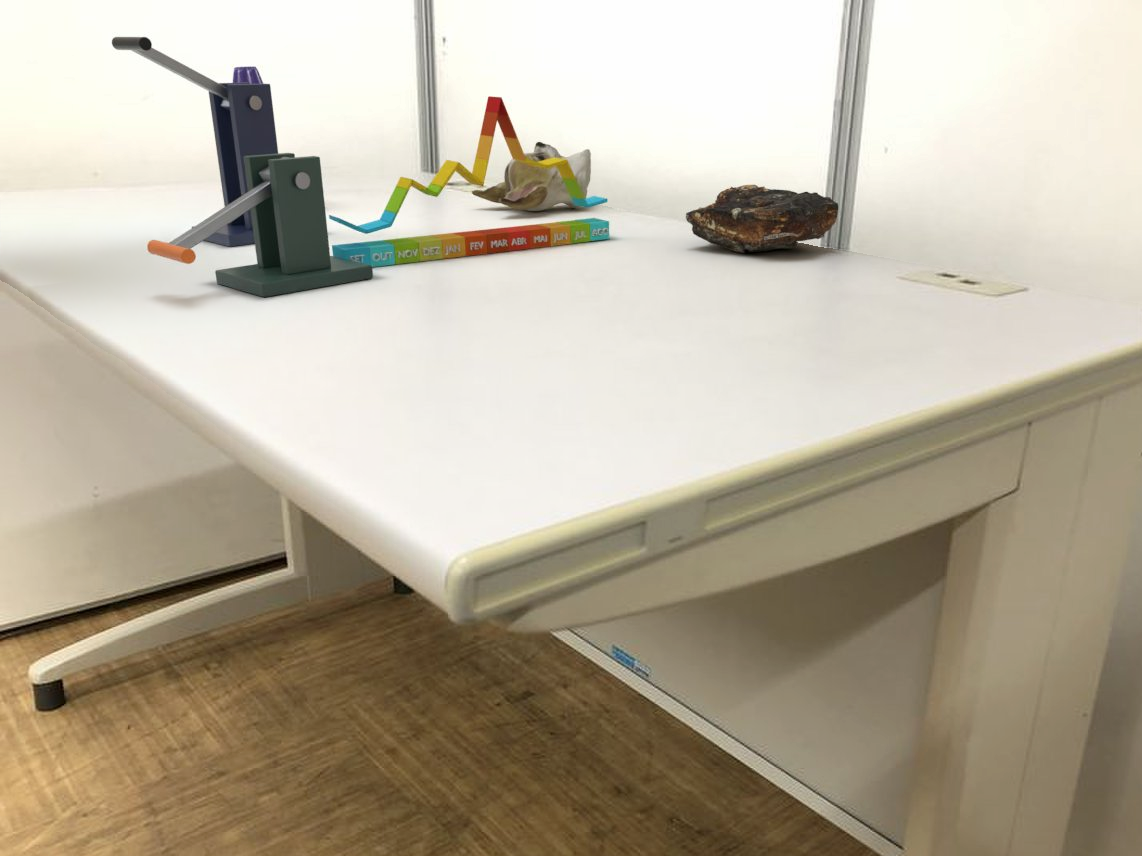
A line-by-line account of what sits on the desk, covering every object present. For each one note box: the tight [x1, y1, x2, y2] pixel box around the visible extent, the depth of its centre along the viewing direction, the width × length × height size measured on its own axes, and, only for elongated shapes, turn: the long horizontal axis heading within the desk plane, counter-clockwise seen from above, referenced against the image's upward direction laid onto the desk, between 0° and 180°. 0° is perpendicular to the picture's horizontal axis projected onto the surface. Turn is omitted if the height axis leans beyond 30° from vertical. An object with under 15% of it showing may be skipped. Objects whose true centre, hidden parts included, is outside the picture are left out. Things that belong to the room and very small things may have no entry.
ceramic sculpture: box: [471, 141, 592, 212], centre depth 135 cm, size 11×9×15 cm
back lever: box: [111, 36, 230, 111], centre depth 107 cm, size 14×6×2 cm, turn 138°
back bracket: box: [191, 82, 279, 248], centre depth 114 cm, size 11×8×16 cm
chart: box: [328, 96, 610, 268], centre depth 107 cm, size 30×3×15 cm, turn 126°
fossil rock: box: [685, 184, 839, 254], centre depth 112 cm, size 14×14×6 cm
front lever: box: [146, 157, 288, 265], centre depth 89 cm, size 14×6×2 cm, turn 138°
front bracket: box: [214, 152, 374, 298], centre depth 93 cm, size 11×8×11 cm
